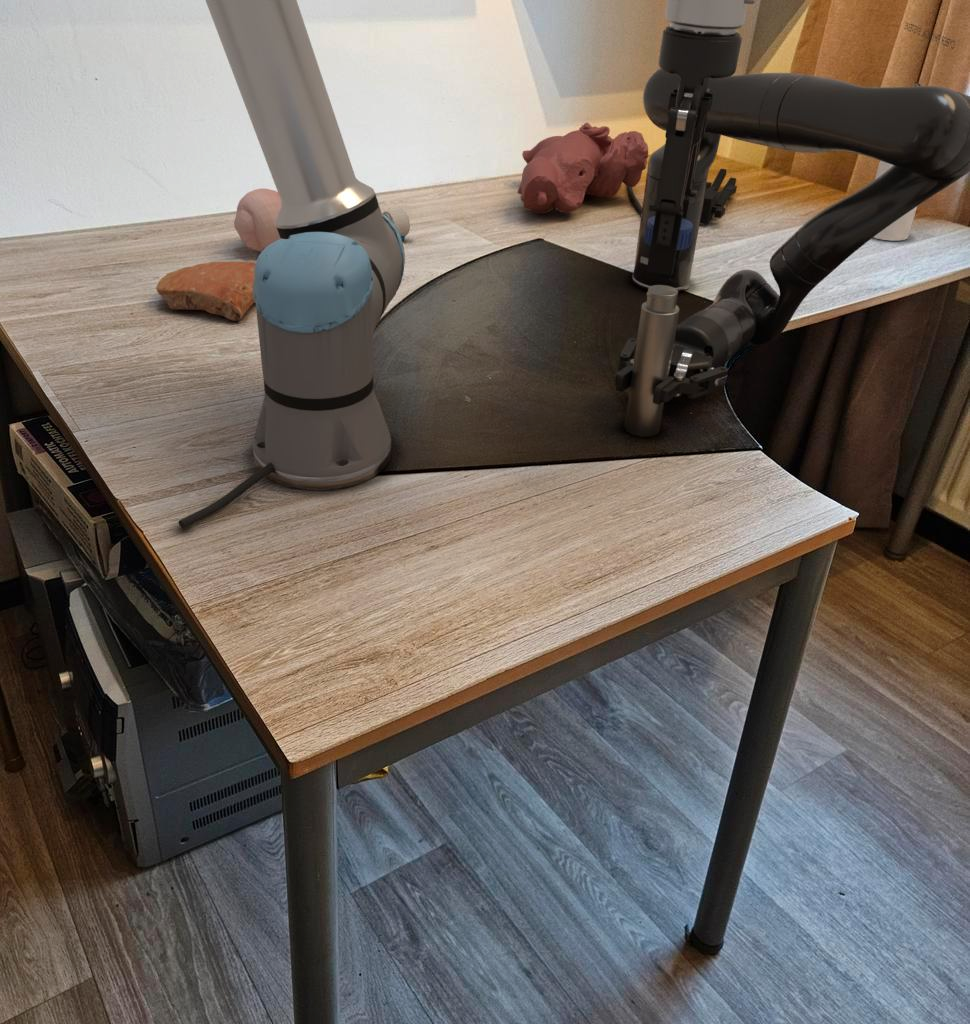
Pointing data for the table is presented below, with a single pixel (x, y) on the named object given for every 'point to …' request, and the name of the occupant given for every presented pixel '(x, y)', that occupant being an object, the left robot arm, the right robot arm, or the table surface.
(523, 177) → the red clay animal figurine
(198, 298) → the ceramic shard
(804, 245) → the right robot arm
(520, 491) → the table surface
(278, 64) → the left robot arm
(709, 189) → the toy
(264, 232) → the toy
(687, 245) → the lid
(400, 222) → the electric motor
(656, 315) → the grey metal cylinder
